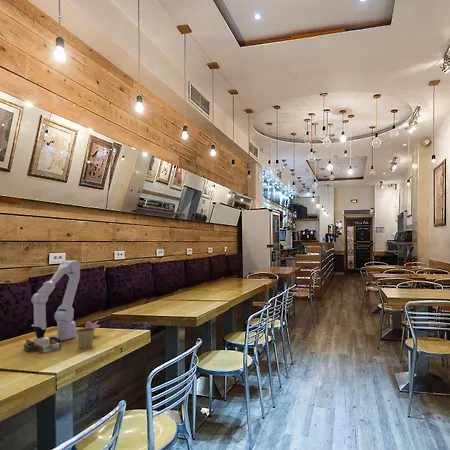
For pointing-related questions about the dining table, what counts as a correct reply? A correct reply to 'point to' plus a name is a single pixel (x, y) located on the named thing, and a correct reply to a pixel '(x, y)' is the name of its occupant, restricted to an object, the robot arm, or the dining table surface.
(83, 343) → the flower pot
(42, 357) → the dining table surface
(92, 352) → the dining table surface
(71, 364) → the dining table surface
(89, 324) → the lily
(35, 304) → the robot arm
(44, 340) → the cream block
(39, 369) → the dining table surface
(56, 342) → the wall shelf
